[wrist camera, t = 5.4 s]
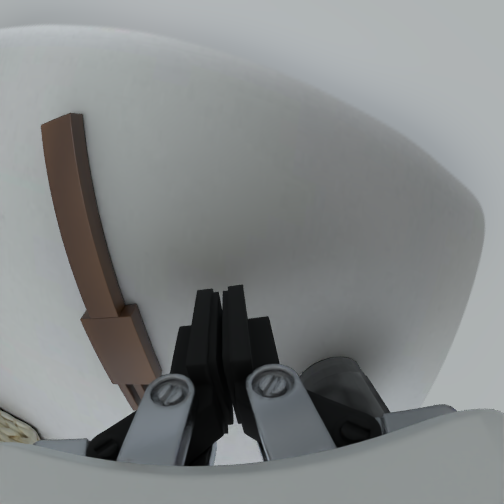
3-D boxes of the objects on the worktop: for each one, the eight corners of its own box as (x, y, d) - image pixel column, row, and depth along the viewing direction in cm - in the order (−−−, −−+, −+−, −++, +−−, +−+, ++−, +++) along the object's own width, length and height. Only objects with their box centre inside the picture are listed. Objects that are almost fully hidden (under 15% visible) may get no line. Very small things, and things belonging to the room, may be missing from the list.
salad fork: (95, 109, 10) (83, 107, 9) (175, 400, 17) (173, 413, 16) (43, 129, 10) (30, 129, 9) (133, 400, 17) (129, 412, 16)
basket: (-51, 367, 16) (-98, 443, 3) (44, 425, 19) (6, 535, 5) (5, 454, 25) (-15, 512, 11) (83, 491, 27) (70, 558, 14)
